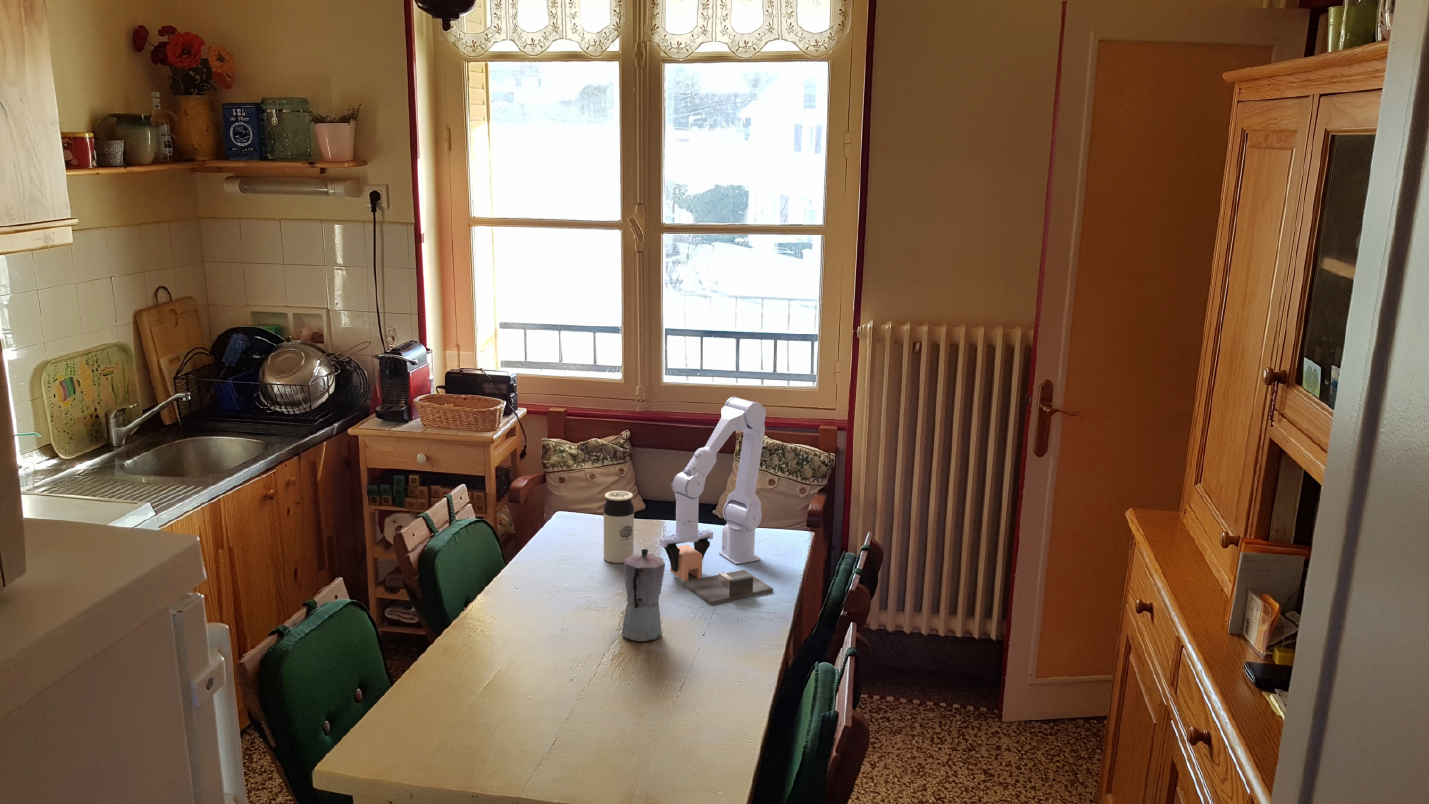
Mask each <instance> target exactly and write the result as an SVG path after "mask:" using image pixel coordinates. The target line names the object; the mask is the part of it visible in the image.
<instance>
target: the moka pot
mask: <svg viewBox="0 0 1429 804" xmlns="http://www.w3.org/2000/svg"><path fill="white" fill-rule="evenodd" d="M640 552H641V554H633V555H632V556H630V557H627V558H625V559H624V560H623V563H622V564H623V573H624V574H623V575H624V583H625V584H624V585H625V592H626V601H627V603H626V607H625V611H624V612H625V613H624V617H623V624H622V629H621V634H622V636H623V637H624V638H626V639H628V640H631V641H635V642H648V641H649V642H650V641H654V640H657V639H659V638H660V637H661V635H662V622H661V621H662V620H661V613H660V604H659V600H660V595H661V593H662V587H663V580H664V575H665V568H666V563H665V561H664V559H663V557H660V556H655V555H654V553H648V552H649V550H648V549H646V548H642V549H641V551H640Z"/></svg>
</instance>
